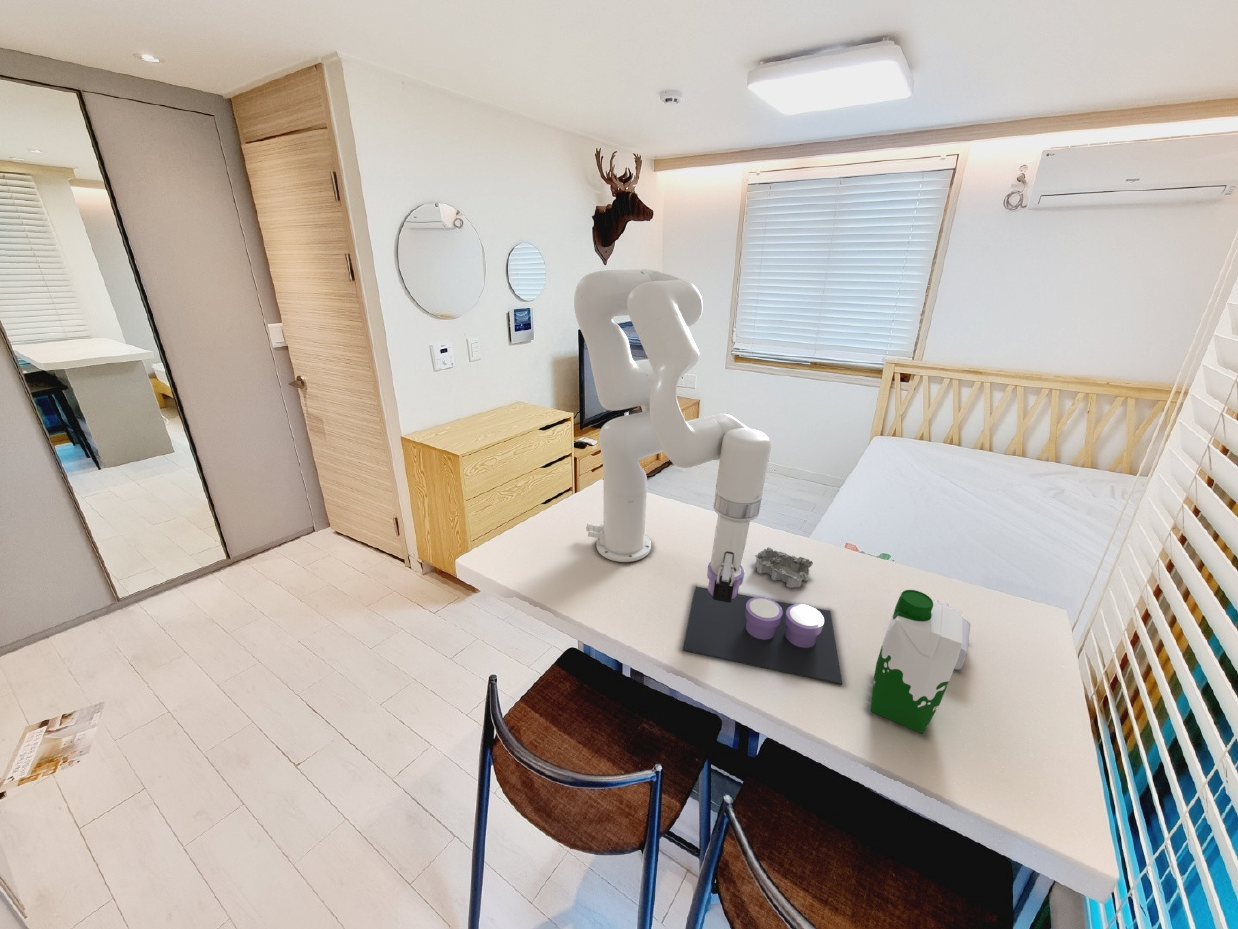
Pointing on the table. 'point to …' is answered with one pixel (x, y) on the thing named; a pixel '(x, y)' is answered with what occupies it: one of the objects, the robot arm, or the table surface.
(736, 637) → the placemat
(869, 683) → the table surface
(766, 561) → the egg carton
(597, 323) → the robot arm
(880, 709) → the milk carton
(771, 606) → the dish middle
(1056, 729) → the table surface
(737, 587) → the purple short cylinder
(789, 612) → the dish right
